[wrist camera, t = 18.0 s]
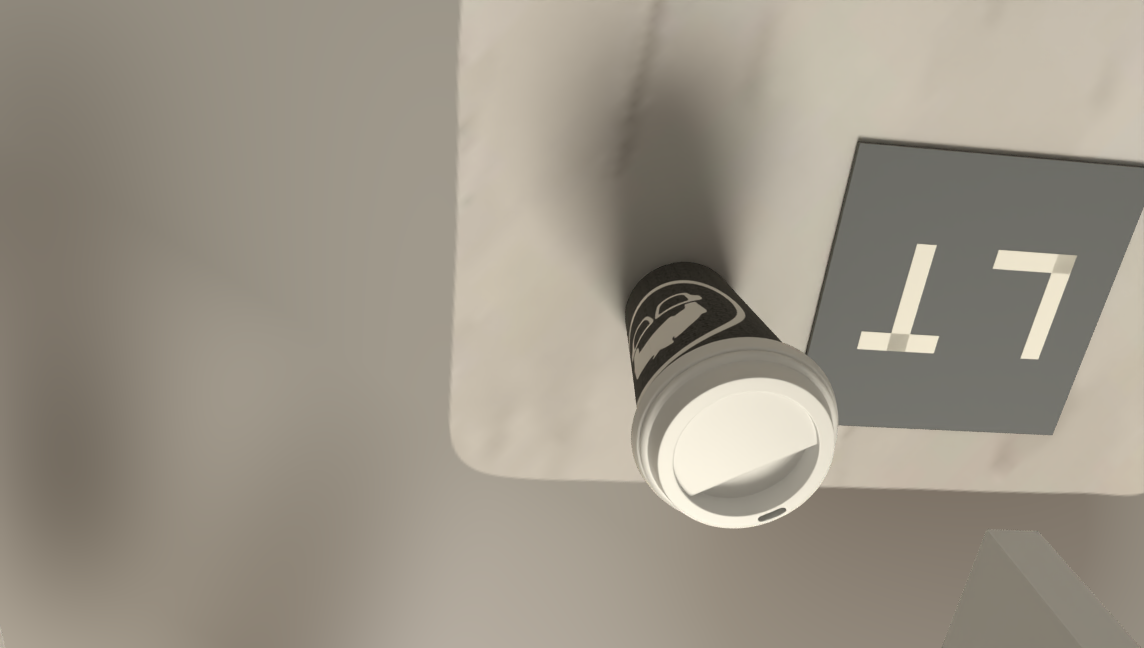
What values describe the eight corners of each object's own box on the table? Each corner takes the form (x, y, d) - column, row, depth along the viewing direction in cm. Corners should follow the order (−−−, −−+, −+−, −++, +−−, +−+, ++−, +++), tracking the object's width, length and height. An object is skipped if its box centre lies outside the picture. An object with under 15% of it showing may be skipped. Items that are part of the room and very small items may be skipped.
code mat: (858, 141, 47) (860, 143, 47) (1154, 167, 49) (1159, 169, 49) (789, 420, 55) (791, 423, 55) (1049, 432, 57) (1052, 435, 57)
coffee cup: (601, 388, 53) (638, 551, 39) (597, 242, 49) (637, 367, 35) (754, 377, 53) (842, 534, 40) (763, 231, 49) (865, 351, 36)
